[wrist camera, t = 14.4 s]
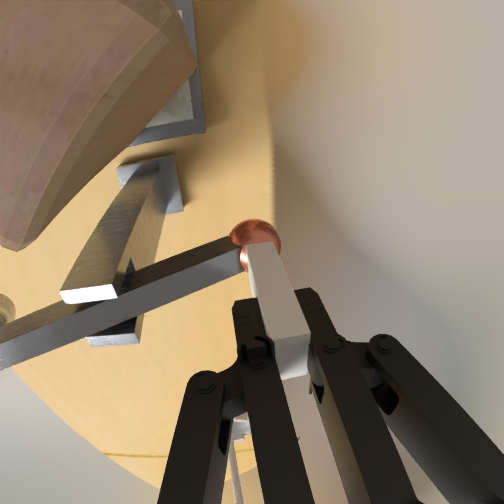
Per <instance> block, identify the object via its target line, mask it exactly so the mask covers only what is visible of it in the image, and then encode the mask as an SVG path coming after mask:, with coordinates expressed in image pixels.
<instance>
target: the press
mask: <svg viewBox="0 0 504 504" xmlns="http://www.w3.org/2000/svg"><path fill="white" fill-rule="evenodd" d="M172 1H173V3H174V4H175V6H176V8H177V10H178V12H179V14H180V16H181V18H182V21H183V24H184V27H185V31H186V34H187V37H188V40H189V43H190V46H191V49H192V52H193V55H194V58H195V61H196V64H197V66H196V68H195V71H194V73H193V74H192V75H191V76H190V77H189V78H188V79H187V80H186V81H185V82H184V83H183V84H182V86H181V87H180V88H179V89H178V90H177V91H176V92H175V93H174V94H173V95H172V96H171V98H170V99H169V100H168V101H167V102H166V103H165V104H164V105H163V107H162V108H161V109H160V110H159V111H158V112H157V114H156V115H155V116H154V117H153V118H152V120H151V121H150V122H149V123H148V124H147V126H146V127H145V128H144V129H143V131H142V132H141V133H140V134H139V136H138V137H137V138H136V139H135V141H134V142H133V143H131V144H130V145H129V146H128V147H131V146H135V145H140V144H144V143H149V142H154V141H159V140H164V139H169V138H174V137H180V136H186V135H192V134H198V133H205V132H206V124H205V116H204V108H203V100H202V91H201V82H200V73H199V64H198V55H197V45H196V35H195V24H194V13H193V2H192V0H172ZM117 172H118V177H119V181H120V185H121V191H120V192H119V193H118V195H117V196H116V198H115V199H114V201H113V202H112V204H111V205H110V207H109V208H108V210H107V211H106V213H105V214H104V216H103V217H102V219H101V220H100V222H99V223H98V225H97V227H96V228H95V230H94V231H93V233H92V235H91V236H90V238H89V239H88V241H87V243H86V244H85V246H84V248H83V250H82V251H81V253H80V255H79V256H78V258H77V260H76V262H75V263H74V265H73V267H72V269H71V271H70V273H69V274H68V276H67V278H66V280H65V282H64V284H63V286H62V288H61V290H60V294H61V295H62V297H63V299H64V301H65V303H66V304H72V303H81V302H89V301H98V300H106V299H114V298H118V295H119V292H120V288H121V285H122V282H123V279H124V275H126V274H129V273H131V272H134V271H136V270H139V269H141V268H144V267H146V266H149V265H152V264H154V261H155V256H156V252H157V247H158V243H159V238H160V234H161V230H162V226H163V222H164V218H165V214H171V213H176V212H182V211H184V204H183V198H182V193H181V188H180V182H179V177H178V171H177V166H176V160H175V154H171V155H165V156H160V157H155V158H150V159H145V160H141V161H136V162H131V163H127V164H123V165H119V166H118V167H117ZM143 318H144V313H143V314H141V315H138V316H136V317H133V318H131V319H129V320H126V321H124V322H121V323H119V324H116V325H114V326H111V327H109V328H106V329H104V330H102V331H99V332H97V333H94V334H92V335H89V336H87V337H86V338H87V340H88V342H89V343H90V345H91V346H92V347H97V346H112V345H126V344H137V343H140V337H141V330H142V324H143Z"/></svg>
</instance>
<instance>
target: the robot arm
mask: <svg viewBox="0 0 504 504" xmlns="http://www.w3.org/2000/svg"><path fill="white" fill-rule="evenodd" d="M245 246H246V255H247V263H248V272H249V281H250V288H251V292H252V296H253V298H249V299H243V300H237V301H235V302H234V305H233V307H232V314H233V321H234V328H235V335H236V341H237V354H238V357H237V360H236V361H235V363H234V364H233V365H232V366H231V367H229V368H228V369H226V370H224V371H221V372H219V373H216V372H213V371H209V370H207V371H200V372H198V373H195V374H194V375H193V376H192V377H191V378H190V379H189V381H188V383H187V387H186V390H185V394H184V398H183V402H182V405H181V409H180V413H179V417H178V421H177V425H176V428H175V432H174V436H173V440H172V444H171V448H170V452H169V456H168V460H167V464H166V468H165V473H164V477H163V481H162V485H161V489H160V494H159V498H158V502H157V504H221V500H222V493H223V487H224V480H225V474H226V467H227V460H228V453H229V447H230V440H231V433H232V426H233V419H234V418H235V417H237V416H240V415H242V414H244V413H246V412H248V418H249V424H250V429H251V435H252V440H253V446H254V451H255V457H256V462H257V467H258V473H259V478H260V483H261V488H262V493H263V498H264V503H265V504H315V503H314V499H313V495H312V492H311V488H310V484H309V480H308V477H307V474H306V470H305V466H304V462H303V459H302V455H301V451H300V447H299V444H298V440H297V436H296V433H295V429H294V425H293V422H292V418H291V414H290V410H289V407H288V403H287V400H286V395H285V392H284V388H283V384H282V381H281V380H283V379H288V378H293V377H298V376H302V375H306V374H307V368H308V371H309V374H310V377H311V378H310V386H309V394H312V392H313V395H314V398H315V401H316V404H317V407H318V410H319V413H320V416H321V419H322V422H323V425H324V428H325V431H326V434H327V437H328V440H329V443H330V446H331V449H332V452H333V456H334V459H335V462H336V465H337V468H338V471H339V474H340V477H341V480H342V483H343V486H344V490H345V493H346V496H347V499H348V503H349V504H424V503H422V502H420V501H419V500H418V499H417V497H416V495H415V493H414V490H413V487H412V485H411V482H410V480H409V477H408V475H407V472H406V470H405V468H404V465H403V463H402V460H401V458H400V456H399V453H398V451H397V449H396V446H395V444H394V441H393V439H392V437H391V434H390V432H389V430H388V428H387V426H388V427H389V428H390V430H391V431H392V432H393V433H394V435H395V436H396V437H397V438H398V440H399V441H400V442H401V443H402V445H403V446H404V447H405V448H406V449H407V451H408V452H409V453H410V455H411V456H412V457H413V458H414V460H415V461H416V462H417V463H418V464H419V466H420V467H421V468H422V470H423V471H424V472H425V473H426V475H427V476H428V477H429V478H430V480H431V481H432V482H433V483H434V485H435V486H436V487H437V488H438V490H439V491H440V492H441V493H442V495H443V496H444V497H445V498H446V500H447V501H448V502H449V503H450V504H504V454H503V453H502V452H501V451H500V450H499V449H498V447H497V446H496V445H495V444H494V443H493V442H492V441H491V439H490V438H489V437H488V436H487V435H486V434H485V433H484V431H483V430H482V429H481V428H480V427H479V426H478V425H477V424H476V422H474V420H473V419H472V418H471V417H470V416H469V415H468V414H467V413H466V412H465V410H464V409H463V408H462V407H461V406H460V405H459V404H458V403H457V402H456V401H455V400H454V399H453V397H452V396H451V395H450V394H449V393H448V392H447V391H446V390H445V389H444V388H443V387H442V386H441V385H440V384H439V382H438V381H436V379H435V378H434V377H433V376H432V375H431V374H430V373H429V372H428V371H427V370H426V369H425V368H424V367H423V366H422V365H421V364H420V363H419V362H418V361H417V360H416V359H415V358H414V357H413V356H412V355H411V354H410V353H409V351H407V349H406V348H405V347H403V345H401V344H400V342H399V341H398V340H397V339H395V338H394V337H392V336H390V335H387V334H378V335H375V336H373V337H372V338H371V339H370V341H369V343H364V342H363V343H362V342H350V341H347V340H346V339H345V338H344V337H342V336H341V335H339V334H338V333H337V332H336V330H335V328H334V326H333V324H332V321H331V319H330V317H329V315H328V313H327V311H326V310H325V307H324V305H323V303H322V301H321V299H320V297H319V295H318V293H316V292H315V291H314V290H312V289H311V288H310V287H309V288H304V289H299V290H293V288H292V286H291V283H290V281H289V278H288V276H287V274H286V271H285V269H284V266H283V264H282V262H281V259H280V257H279V254H278V252H277V250H276V247H275V245H274V243H273V241H270V242H263V243H257V244H250V245H245Z"/></svg>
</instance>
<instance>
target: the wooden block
mask: <svg viewBox="0 0 504 504" xmlns="http://www.w3.org/2000/svg"><path fill="white" fill-rule="evenodd" d="M196 66H197V64H196V61H195V58H194V55H193V52H192V49H191V46H190V43H189V40H188V37H187V34H186V31H185V27H184V24H183V21H182V18H181V16H180V14H179V12H178V10H177V8H176V6H175V4H174V3H173V1H172V0H0V245H1V246H2V247H4V248H7V249H10V250H13V251H16V252H18V251H20V250H22V249H24V248H26V247H27V246H28V245H29V244H31V243H32V242H33V241H34V240H36V239H37V238H38V236H39V235H40V234H41V233H42V232H43V230H44V229H45V228H46V227H47V226H48V225H49V223H50V222H51V221H52V220H53V219H54V218H55V217H56V216H57V214H58V213H59V212H60V211H61V210H62V209H63V208H64V207H65V206H66V205H67V204H68V203H69V201H70V200H71V199H72V198H73V197H74V196H75V195H76V194H77V193H78V192H79V191H80V190H81V189H82V188H83V187H84V186H85V185H86V184H87V183H88V182H89V181H90V180H91V179H92V178H93V177H94V176H95V175H97V174H98V173H99V172H100V171H101V170H102V169H103V168H104V167H105V166H106V165H107V164H108V163H109V162H111V161H112V160H113V159H114V158H115V157H116V156H117V155H118V154H120V153H121V152H122V151H123V150H124V149H125V148H127V147H128V146H129V145H130V144H131V143H133V142H134V141H135V139H136V138H137V137H138V136H139V134H140V133H141V132H142V131H143V129H144V128H145V127H146V126H147V124H148V123H149V122H150V121H151V120H152V118H153V117H154V116H155V115H156V114H157V112H158V111H159V110H160V109H161V108H162V107H163V105H164V104H165V103H166V102H167V101H168V100H169V99H170V98H171V96H172V95H173V94H174V93H175V92H176V91H177V90H178V89H179V88H180V87H181V86H182V84H183V83H184V82H185V81H186V80H187V79H188V78H189V77H190V76H191V75H192V74H193V73H194V71H195V68H196Z"/></svg>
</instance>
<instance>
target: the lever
mask: <svg viewBox="0 0 504 504" xmlns="http://www.w3.org/2000/svg"><path fill="white" fill-rule="evenodd" d="M270 241H273V243H274V245H275V247H276V250H277V252H278V254H279V255H280V252H281V240H280V237H279V234H278V233H277V231H276V229H275V228H274V227H273V226H272V225H270V224H269V223H267V222H266V221H263V220H260V219H248V220H245V221H242V222H240V223H239V224H237V225H236V226H235V227H234V228H233V229H232V231H231V232H230V234H229V236H226V237H223V238H220V239H218V240H215V241H212V242H209V243H207V244H204V245H201V246H199V247H196V248H193V249H191V250H188V251H186V252H183V253H180V254H178V255H175V256H172V257H170V258H167V259H165V260H162V261H159V262H157V263H154V264H152V265H149V266H146V267H144V268H141V269H139V270H136V271H134V272H131V273H129V274H126V275H124V279H123V282H122V285H121V288H120V292H119V295H118V298H114V299H106V300H98V301H89V302H81V303H72V304H66V303H65V301H64V300H62V301H59V302H57V303H55V304H52V305H50V306H47V307H45V308H43V309H40V310H38V311H36V312H33V313H31V314H29V315H26V316H24V317H22V318H19V319H17V320H15V314H16V310H15V306H14V304H13V302H12V301H11V300H10V299H9V298H8V297H7V296H5V295H3V294H0V370H2V369H5V368H8V367H10V366H13V365H15V364H18V363H21V362H23V361H26V360H28V359H31V358H34V357H36V356H39V355H41V354H44V353H46V352H49V351H51V350H54V349H56V348H59V347H62V346H64V345H67V344H69V343H72V342H74V341H77V340H79V339H82V338H84V337H87V336H89V335H92V334H94V333H97V332H99V331H102V330H104V329H106V328H109V327H111V326H114V325H116V324H119V323H121V322H124V321H126V320H129V319H131V318H133V317H136V316H138V315H141V314H143V313H146V312H148V311H150V310H153V309H155V308H158V307H160V306H163V305H165V304H167V303H170V302H172V301H175V300H177V299H179V298H182V297H184V296H187V295H189V294H191V293H194V292H196V291H198V290H201V289H203V288H206V287H208V286H210V285H213V284H215V283H217V282H220V281H222V280H224V279H227V278H229V277H231V276H234V275H236V274H238V273H241V272H243V271H245V272H248V263H247V255H246V246H245V245H250V244H257V243H263V242H270ZM248 273H249V272H248ZM14 320H15V321H14Z"/></svg>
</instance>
